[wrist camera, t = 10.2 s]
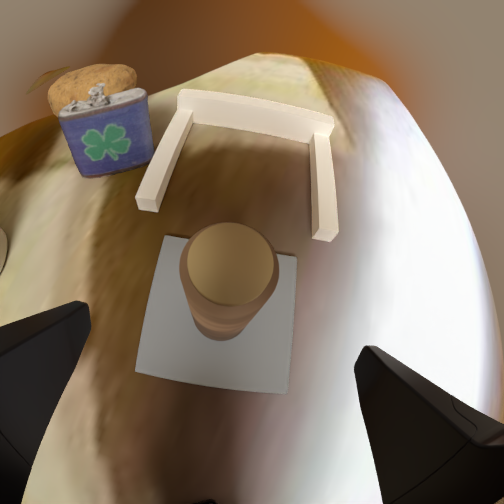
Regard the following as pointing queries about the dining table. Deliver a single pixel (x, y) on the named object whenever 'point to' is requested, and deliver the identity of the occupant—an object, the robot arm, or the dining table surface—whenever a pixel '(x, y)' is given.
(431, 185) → the dining table surface
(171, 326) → the mat
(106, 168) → the flask
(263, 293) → the brown wooden cylinder
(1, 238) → the travel mug
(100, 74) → the potato
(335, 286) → the dining table surface
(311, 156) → the white frame
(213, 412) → the dining table surface
